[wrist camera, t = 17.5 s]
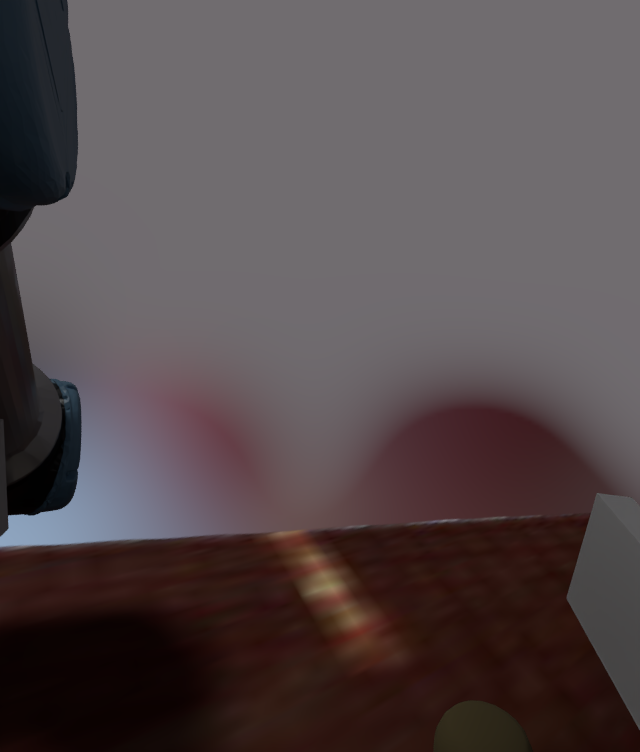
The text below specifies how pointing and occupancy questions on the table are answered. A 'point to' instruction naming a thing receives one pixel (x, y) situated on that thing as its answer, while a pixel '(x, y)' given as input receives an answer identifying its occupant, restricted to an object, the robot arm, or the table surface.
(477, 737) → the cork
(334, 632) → the table surface
